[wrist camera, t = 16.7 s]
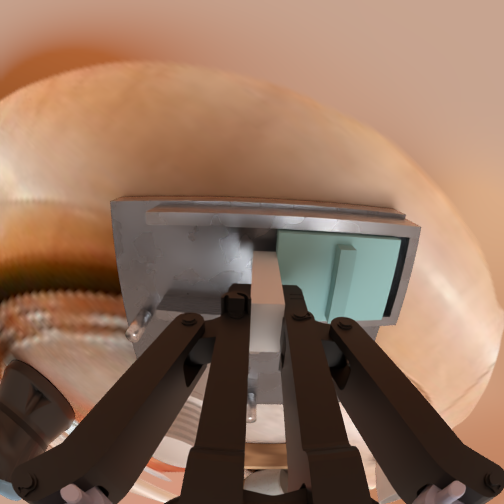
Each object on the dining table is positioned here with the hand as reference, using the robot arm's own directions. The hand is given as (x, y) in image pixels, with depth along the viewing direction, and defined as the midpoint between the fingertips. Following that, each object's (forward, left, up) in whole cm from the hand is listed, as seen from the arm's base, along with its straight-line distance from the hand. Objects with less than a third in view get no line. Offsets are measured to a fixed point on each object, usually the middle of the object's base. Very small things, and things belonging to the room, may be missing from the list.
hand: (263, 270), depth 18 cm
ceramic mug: (+5, -39, -4) cm, 40 cm away
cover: (+5, 0, 0) cm, 5 cm away
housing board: (0, -6, -4) cm, 7 cm away
